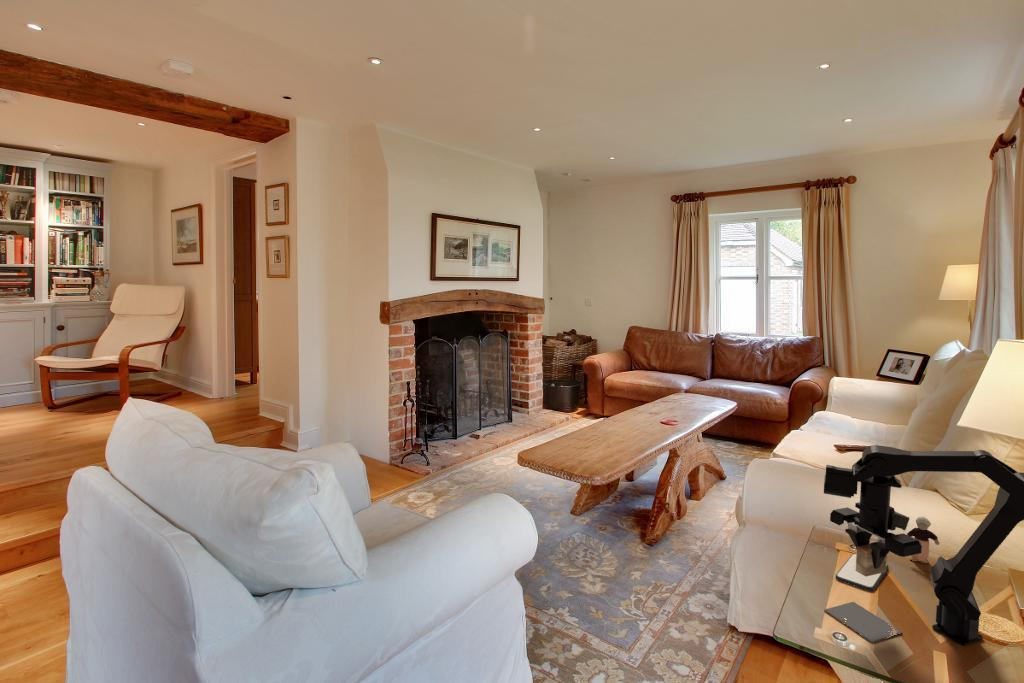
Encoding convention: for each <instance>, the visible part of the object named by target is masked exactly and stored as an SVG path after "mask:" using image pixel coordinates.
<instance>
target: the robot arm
mask: <svg viewBox="0 0 1024 683" xmlns="http://www.w3.org/2000/svg"><path fill="white" fill-rule="evenodd" d="M912 472H929V473H930V472H933V473H934V472H936V473H937V472H938V473H939V472H940V473H942V472H943V473H948V472H949V473H980V474H982V475H984V476H985V477H987V478H988V479H989V480H990V481H992V482H993V483H994V484H996V485H997V486H998V487H999V488H998V490H997V495H996V498H995V501H994V505H993V507H992V509H991V510H989V512H988V513H987V515H986V516H985V517H984V519H983V520H982V521H981V523H980V524H979V525H978V526H977V527H976V529H975V530H974V531H973V533H972V534H971V535H970V537H969V538H968V539H967V540H966V542H964V544H963V546H961V548H960V549H959V550H958V552H957V553H956V554H955V555H954V556H953V557H950V558H947V559H945V558H944V557H943V556H942V555H940V556H938V557H937V560H936V562H935V564H934V565H933V566H931V567H929V571H930V574H929V578H930V583H931V586H932V589H933V591H934V595H935V596H936V598H937V599H938V604H937V605H936V608H935V609H936V611H935V622H936V623H935V624H932V625H931V627H932V629H934V630H936V631H937V632H939V633H940V634H942V635H944V636H946V637H948V638H949V639H951V640H953V641H954V642H956V643H958V644H960V645H962V646H966V645H969V644H973V643H975V642H978V641H981V640H984V636H983V635H982V634H980V633H979V629H980V617H981V615H982V612H981V610H980V607H979V605H978V603H977V600H976V598H975V596H974V593H973V590H974V586H975V582H976V578H977V575H978V573H979V572H980V571H981V569H982V568H983V567H984V565H985V564H986V563H987V562H988V561H989V559H990V558H991V557H992V556H993V555H994V553H995V552H996V551H997V549H999V547H1000V546H1001V545H1002V544H1003V542H1004V541H1005V540H1006V539H1007V538H1008V536H1009V535H1011V532H1012V531H1013V530H1014V529H1015V528H1016V526H1017V525H1018V524H1019V523H1020V522H1023V521H1024V472H1018V471H1017V470H1016V469H1014V468H1013V467H1011V466H1010V465H1008V464H1006V463H1005V462H1003V461H1001V460H1000V459H999V458H996V457H995V456H994V455H993V454H992V453H990V452H989V451H987V450H983V449H977V450H906V449H901V448H897V447H893V446H887V445H879V444H874V445H868V446H867V447H866V448H865V449H864V450H863V451H862V455H861V457H860V458H859V459H858V460H857V461H856V462H855V463H853V465H852V466H851V468H847V467H841V466H835V465H830V464H826V466H825V474H824V479H823V480H824V481H823V494H825V495H831V496H837V497H841V498H842V497H843V498H849V499H851V498H852V497H854V496H855V495H858V483H860V491H859V492H860V493H859V494H860V495H859V502H855V504H854V505H855V506H854V507H855V509H856V508H857V509H859V511H856V510H854V509H852V508H850V507H848V506H847V507H842V508H835V509H833V510H832V511H831V512H830V513H829V521H830V522H831V523H834V524H836V525H837V526H842V525H844V524H845V522H846V524H847V528H845V530H844V531H845V533H847V534H848V536H849V537H850V539H851V541H852V543H853V545H854V547H855V549H856V550H857V547H858V546H862V545H867V544H871V552H872V560H873V565H874V568H875V569H878V568H879V567H880V566H881V564H882V562H883V561H884V559H885V557H886V555H887V556H888V554H889V553H892V554H894V555H896V556H899V557H902V558H904V557H909V556H910V557H911V555H915V554H919V553H921V550H922V545H921V543H920V542H919V540H917V539H915V538H914V537H913V536H912V537H910V536H908V535H907V533H897V534H895V533H893V532H889V531H896V528H897V529H901V530H903V531H906V530H907V527H908V524H909V521H910V520H911V519H910V517H909V516H907V515H904V514H902V513H900V512H897V511H895V507H893V506H890V505H891V493H892V491H891V490H892V488H897V489H901V488H902V487H903V485H902V482H901V480H900V479H898V478H897V477H896V476H899V475H902V474H905V473H912ZM872 536H875V537H877V540H876V541H875V542H871V538H872Z"/></svg>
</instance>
